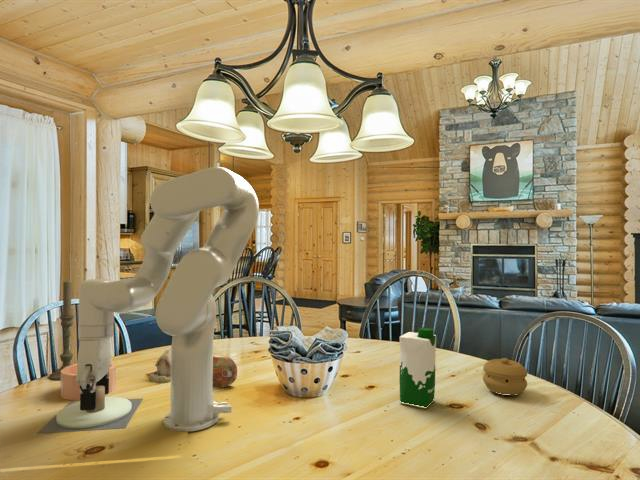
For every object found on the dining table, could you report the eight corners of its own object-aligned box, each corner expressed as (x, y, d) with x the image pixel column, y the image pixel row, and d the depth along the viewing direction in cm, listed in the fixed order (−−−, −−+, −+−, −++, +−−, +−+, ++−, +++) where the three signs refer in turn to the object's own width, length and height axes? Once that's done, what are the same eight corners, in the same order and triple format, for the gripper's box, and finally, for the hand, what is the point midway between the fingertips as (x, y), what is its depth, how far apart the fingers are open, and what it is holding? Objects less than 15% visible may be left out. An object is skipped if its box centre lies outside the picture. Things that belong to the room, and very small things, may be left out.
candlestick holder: (52, 372, 135) (53, 278, 135) (85, 369, 139) (86, 277, 139) (45, 381, 127) (46, 281, 127) (80, 378, 130) (81, 280, 130)
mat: (143, 400, 113) (143, 398, 113) (125, 430, 96) (125, 427, 96) (69, 404, 110) (69, 402, 110) (36, 436, 92) (36, 433, 92)
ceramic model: (172, 369, 141) (172, 339, 141) (201, 372, 138) (201, 341, 138) (142, 382, 128) (142, 349, 128) (174, 387, 124) (174, 352, 124)
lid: (138, 399, 112) (138, 376, 112) (121, 426, 96) (122, 398, 96) (72, 403, 109) (72, 379, 109) (43, 431, 93) (44, 403, 93)
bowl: (120, 384, 126) (120, 360, 126) (106, 400, 113) (106, 374, 113) (72, 386, 123) (72, 362, 123) (52, 403, 111) (53, 376, 111)
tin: (192, 381, 129) (193, 353, 129) (200, 378, 132) (200, 351, 132) (231, 389, 122) (232, 360, 122) (238, 386, 125) (239, 357, 125)
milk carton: (428, 411, 108) (429, 333, 108) (395, 404, 113) (395, 328, 113) (438, 400, 116) (439, 327, 116) (406, 394, 121) (407, 323, 121)
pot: (484, 397, 119) (484, 361, 119) (481, 384, 130) (481, 351, 130) (530, 403, 115) (531, 366, 115) (523, 388, 126) (524, 355, 126)
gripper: (91, 323, 111) (90, 389, 111) (64, 339, 94) (63, 417, 94) (122, 323, 112) (121, 388, 112) (101, 338, 95) (100, 415, 95)
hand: (95, 401), depth 103 cm, fingers open, 9 cm apart
